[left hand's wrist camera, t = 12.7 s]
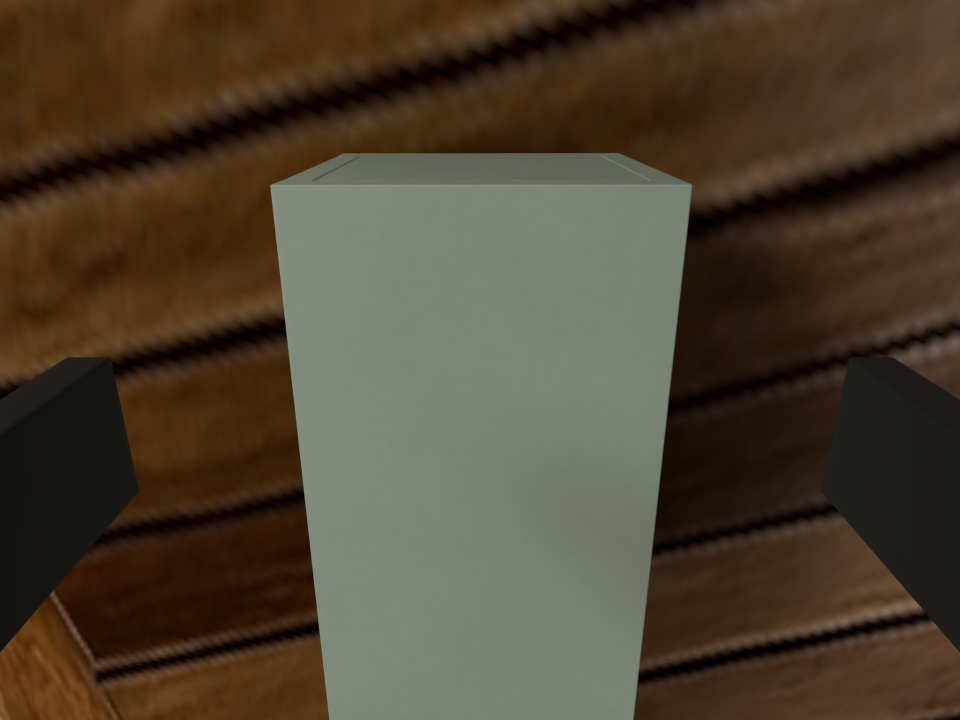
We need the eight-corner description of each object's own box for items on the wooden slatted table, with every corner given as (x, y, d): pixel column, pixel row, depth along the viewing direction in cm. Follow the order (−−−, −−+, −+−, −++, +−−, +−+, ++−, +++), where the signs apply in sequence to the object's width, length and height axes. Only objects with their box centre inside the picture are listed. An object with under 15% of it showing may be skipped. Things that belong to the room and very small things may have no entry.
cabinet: (590, 567, 35) (631, 745, 26) (372, 567, 35) (331, 745, 26) (619, 153, 28) (693, 184, 18) (342, 153, 28) (269, 184, 18)
